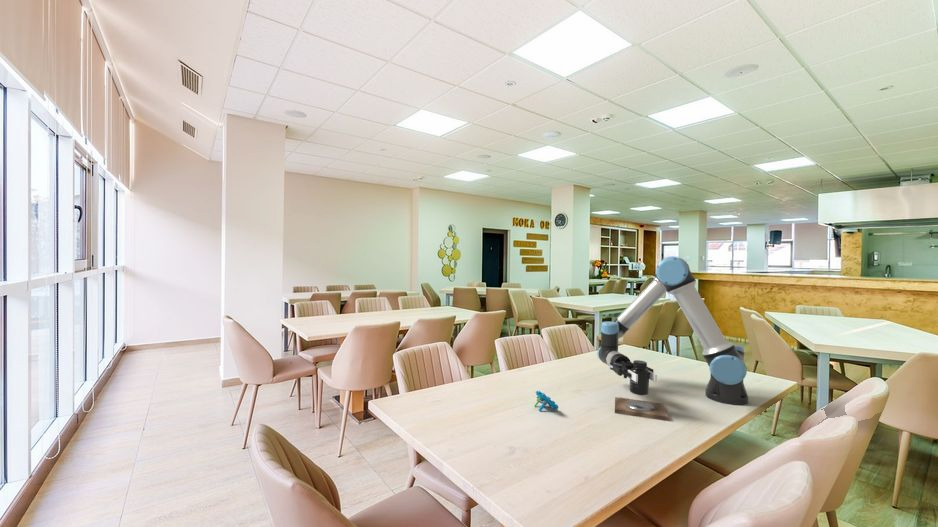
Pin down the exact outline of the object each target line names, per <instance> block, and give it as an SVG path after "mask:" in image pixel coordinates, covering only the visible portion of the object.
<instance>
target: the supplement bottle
mask: <svg viewBox="0 0 938 527" xmlns="http://www.w3.org/2000/svg"><path fill="white" fill-rule="evenodd" d="M632 363H633V366H634V367H632V368H631V371H632V372H634V373H635V374H637V375H638V382H635V381H633V380H632V379H630V378H629V391H630V393H632V394H634V395H638V396H647V395H648V394H649V390H650V379H649V371H648V370H647V369H646V368H647V367H648V362H647V361H644V360H639V359H637V360H633V362H632Z"/></svg>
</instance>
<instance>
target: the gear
mask: <svg viewBox="0 0 938 527" xmlns="http://www.w3.org/2000/svg"><path fill="white" fill-rule="evenodd" d="M535 394H536V395H537V396H536V402H535V404H534V405H533V406H534V407H535V408H536V407H537V406H538V404H539V403H540V404H541V405H540V407H539V408H538V411H539V412H542V410H543V409H544V407H545V406H547V405H548V407H550V408H553V409H554V410H558V409H559V405H558V404H557V403H556V402H555V401H554V400H551V397H550V396H547V395H546V394H545V393H544V392H541V391H540V390H536V391H535Z"/></svg>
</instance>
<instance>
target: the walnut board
mask: <svg viewBox="0 0 938 527" xmlns="http://www.w3.org/2000/svg"><path fill="white" fill-rule="evenodd" d="M614 414H619V415H624V416H633V417H638V416H639V418H646V419H653V420H661V421H667V422H668V421H669V416H668V413H667V409H666V406H665V403H663V402H662V403H661V402H656V401H650V400H649V401H647V400H641V399H640V400H639V399H634V398H633V399H632V398H625V397H618V396H614Z"/></svg>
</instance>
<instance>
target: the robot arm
mask: <svg viewBox="0 0 938 527" xmlns="http://www.w3.org/2000/svg"><path fill="white" fill-rule="evenodd" d="M696 284H697V280H696V278H695V276H694V274H693V273H692V271H691V269H690V265H689V263H688V262H687V261H686V260H684V259H683V258H681V257H678V256H668V257H664V258H663V259H661V260H660V261H659V262H658V263H657V265H656V268H655V275H654V276H653V280H652V281H651V282H650V283H649V284H648V285H647V286H646V287H645V288H644V289H643V290H642V291H641V292H640V293H639V295H637V296H636V298H635V299H634V300H632V302H630V304H629V305H627V307H626V308H625V309H623V310H622V312H621V313H620V314H619V315H618V316H617V317H616V318H615V319H614V320H613V321H602V322H601V328H600V347H598V350H597V358H598V359H599V360H600V361H601V362H602V363H604V364H605V365H607V366H609V369H610V370H611V371H613V372H614V373H615V374H616V375H617V376H618V377H621V376H623V379H627V378H629V380H630V379H632V380H633V381H635V382H638V375H637V374H635V373H634V372H632V371H631V368H632V367H634V366H633V362H632V361H631V359H630V358H629V357H628V356H626V355H624V354H623V353H621V352H619V339H620V338H622V337H624V335H625V334H626V333H627V332H628V331H630V329H631V328H632V326H634V325H635V324H636V323H637V322H638V321H639V320H640V319H641V318H642V317H643V316H644V315H645V314H646V313H647V312H648V311H649V310H650V309H651V308H652V307H653V306H654V305H655V304H656V303H657V302H658V301H659V300H660V299H661V298H662V297H663V296H665V294H666V293H667V294H671V295H672V296H674V299H675V300H676V302H677V304H678V306H679V307H680V309H681V311H682V312H683V315H684V316H685V317H686V320H687V322H688V323H689V325H690V327H691V329H692V330H693V332H694V334H695V335H696V337H697V339H698V340H699V343H700V345H701V346H702V348H703V350H702V353H701V354H702V357H703V359H704V360H705V362H706V363H707V365H708V367H709V372H710V377H709V380H708V381H707V382H708V383H707V384H706V388H705V394H704V395H705V396H706V397H707V399H708V398H709V399H710V400H712V401H716V402H720V403H721V404H722V403H723V404H728V405H746V404H749V395H748V392H747V390H746V386H745V384H744V380H745V378H746V376H747V372H748V371H747V369H748V368H747V365H746V364H745V353H746V352H745V348H744V347H743V346H741V345H736V344H734V343H732V342H731V341H728V340H726V338H725V336H724V335H723V333H722V331H721V329H720V328H719V326H718V325H717V322H716V321H715V319H714V318H713V316H712V314H711V312H710V310H709V309H708V306H707V305H706V303H705V302H704V300H703V299H702V297H701V295H700V293H699V292H698V290H697V288H696ZM646 369H647V370H648V371H649V381H652V382H653V383H658V374H657V373H655V372H654V371H655V370H654V369H653V368H651V367H649V366H647V368H646Z"/></svg>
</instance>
